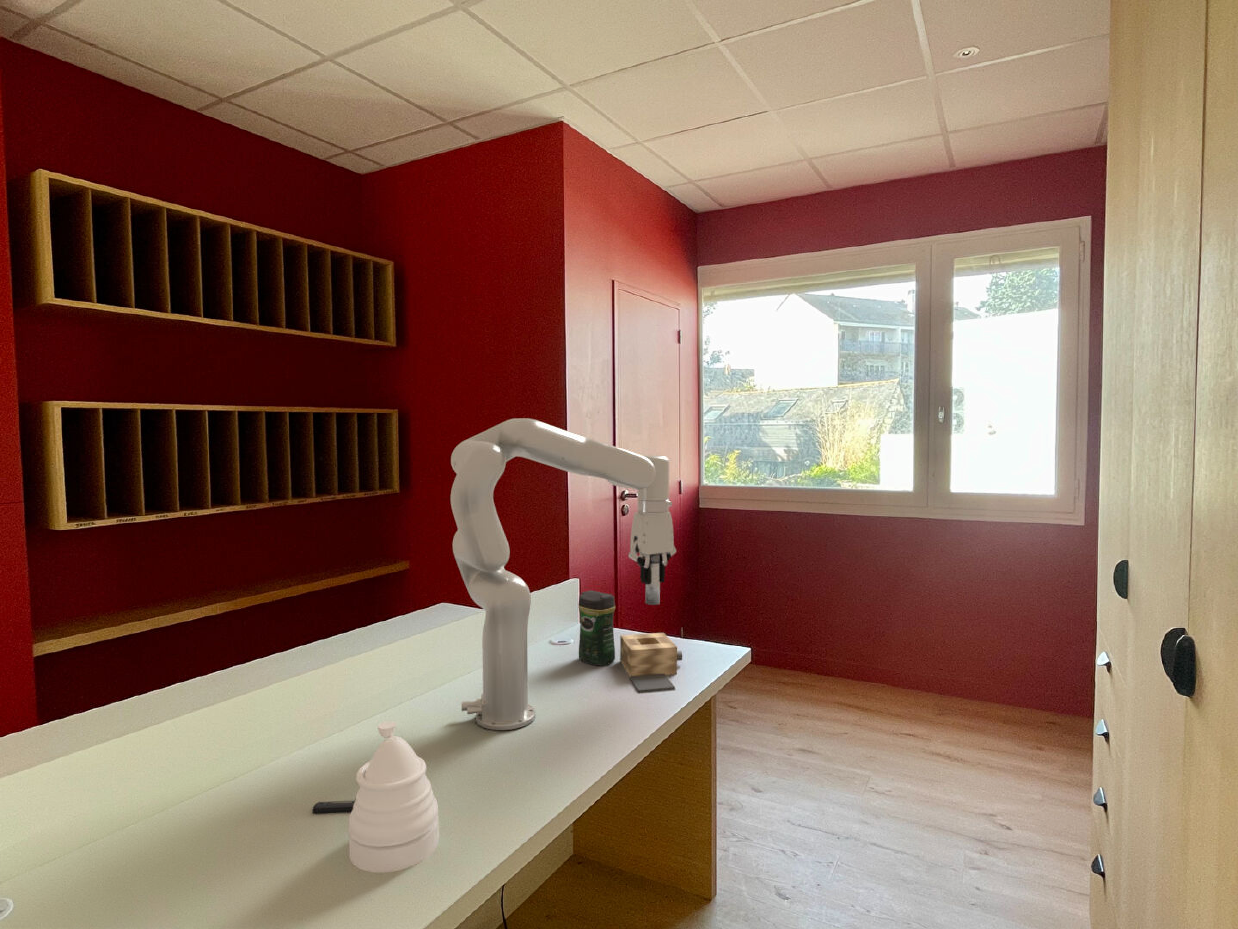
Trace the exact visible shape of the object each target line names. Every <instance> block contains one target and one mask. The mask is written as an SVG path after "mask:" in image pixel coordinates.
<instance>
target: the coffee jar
mask: <svg viewBox="0 0 1238 929" xmlns="http://www.w3.org/2000/svg"><path fill="white" fill-rule="evenodd" d="M615 610H616V603H615V596H614V595H613V594H609V593H605V592H600V591H595V590H591V589H590V590H587V591H583V592H581V593H580V595H579V596H578V611H579V617H580V618H579V619H580V623H579V625H580V627H579V628H580V629H579V642H578V659H579V660H580V661H582V662H584V663H587V664H591V665H594V666H600V665H608V664H609V665H610V664H612V662H614V661H615V660H616V650H615V648H616V647H615V638H614V636H615V635H614V613H615Z"/></svg>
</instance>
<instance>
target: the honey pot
mask: <svg viewBox="0 0 1238 929" xmlns="http://www.w3.org/2000/svg"><path fill="white" fill-rule="evenodd" d="M396 726H397V723H396V722H395V721H392V720H390V721H384V722H381V723H379V724H378V725H377V730H378V734H379V735H380V736H381V737H382V738H385V740H383V741H382V742H381V744H380V745H379V746H378V747H377V749H376V750H375V752H374V753H373V755H372V758H371V760H369V761H367V762H366V763H364V764H362V766H361V767H360V768H359V769H358V770H357V773H356V776H355V777H356V782H357V784H358V785H359V786H360V788H358V789H357V790H358V791H357V792H356V795H355V800H356V801H355V800H354V801H355V803H354V806H353V810H352V812H350V815H349V818H348V838H349V839H348V842H349V843H348V846H349V859H350V861H351V863H352V864H353V865H354V866H355V867H357V868H358V869H359V870H363V871H366V872H368V873H376V874H377V873H378V874H379V873H380V874H381V873H393V872H397V871H402V870H406V869H407V868H411V867H412V866H416V865H417V864H418V863H420V862H422V861H424V860H425V859H427V858H428V857H429V856H430V855H431V854H432V853H434V851H435V850H436V848H437V847H438V845H439V844H438V843H439V840H440V834H439V833H440V832H439V830H440V827H439V826H440V824H439V806H438V801H437V798H436V797H435V795H434V792H433V789H432V786H431V781H430V780H429V779H428V777H427V774H426V771H427V764H426V761H425V760H424V759H423V758H422V757H420V756H417V754H416V752H415V751H414V750H413V747H412V746H411V745H410V744H409V743H408V742H407V741H406V740H405V739H403V738H401V737H400V736H395V735H394V733H395V731H396V728H397V727H396Z"/></svg>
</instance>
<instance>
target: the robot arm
mask: <svg viewBox="0 0 1238 929" xmlns="http://www.w3.org/2000/svg"><path fill="white" fill-rule="evenodd" d="M515 457H520V458H524V459H528V460H531V461H534V462H537V463H540V464H544V465H546V466H550V467H553V468H556V469H559V470H562V471H565V472H568V473H572V474H576V475H580V476H586V477H594V478H600V479H604V480H606V481H607V482H609V483H610V484H611V485H612V486H615V487H619V488H626V489H632V490H637V512H634V514H633V517H632V523H631V530H630V546H629V548H630V551H629V552H628V558H629V559H631V560H633V561H634V562H635V563H636V564H637V565H638V566H639V567H640V569H639V570H640V582H641V583H642V584H644V585H646V584H647V585H649V584H650V583H651V569H650V568H648V567H649V559H650V555H654V554H660V583H665V578H666V567H667V565H668V561H669V560H670V559H671V557H673V556H674V555H675V554H676V553H677V548H676V547H675V544H674V543H675V542H674V524H673V518H672V514H671V512H670V511H669V509H670V507H672V505H673V503H672V501H671V500H670V460H669V459H668V457H666V456H664V455H654V454H653V455H652V454H651V455H650V454H649V455H640V454H637V453H635V452H632V451H629V450H627V449H624V448H621V447H618V446H615V445H610V444H607V443H604V442H601V441H598V440H595V439H592V438H590V437H586V436H582V435H579V434H576V433H574V432H571V431H568V430H565V429H562V428H560V427H556V426H554V425H551V424H548V423H545V422H543V421H540V420H538V419H533V418H525V417H523V418H511V419H510V418H509V419H507V420H505V421H502V422H501V423H499V424H496V425H494V426H493V427H490V428H488V429H486V430H485V431H482V432H480V433H478V434H476V435H473V436H471V437H469V438H468V439H465V440H463V441H461V442H460V443H459V444H458V445H456V447H454V449H453V451H452V453H451V456H450V464H451V467H452V470H453V471H454V473H456V476H455V478H454V481H453V482H452V483H453V484H452V487H451V490H450V492H451V493H450V505H451V510H452V514H453V517H454V521H455V524H456V527H457V531H456V532H455V534H454V536H453V540H452V553H453V556H454V559H455V561H456V564H457V567H458V569H459V572H460V574H461V575H460V576H461V578H462V580H463V582H464V585H465V587H466V589H467V592H468V594H469V596H470V598H471V599H472V601H473V602H474V603H475V604H476V605H477V606H479V608H482V609H483V611H485V618H484V624H483V627H482V628H483V629H482V636H481V637H482V638H481V639H482V642H481V643H482V644H481V645H482V647H481V648H482V694H480V698H477V699H476V700H473V701H472V700H471V701H470V700H467V701H461V712H465V711H466V714H467V715H474V714H475V721H476V724H477V725H479V726H480V727H481V728H485V729H487V730H492V731H508V730H510V731H511V730H516V729H520V728H522V727H525V726H527V725H529V724H530V723H532V722H533V720H535V717H536V710H535V708H534V707H533V706H532V705H530V704H529V703H528V700H529V699H528V694H529V692H528V691H529V690H528V689H529V688H528V683H529V680H528V678H529V677H528V670H529V669H528V663H529V662H528V627H529V626H528V625H529V615H530V610H531V604H532V602H531V601H532V596H531V591H530V588H529V586H528V584H527V583H526V582H525V581H524V580H523V579H522V578H521V577H520V576H518V575H516V574H514V573H513V572H511V571H508V570H506V569H505V566H506V565H507V563H508V562H509V559H510V552H511V551H510V545H509V541H508V540H507V537H506V534H505V532H504V529H503V526H502V523H501V521H500V518H499V516H498V512H497V508H496V505H495V502H494V490H495V487H496V485H497V483H498V481H499V480H500V479H501V477H502V475H503V474H504V472H505V468H506V464H507V462H509V461H510V460H512V459H514V458H515ZM638 554H639V555H638Z"/></svg>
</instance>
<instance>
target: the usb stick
mask: <svg viewBox="0 0 1238 929" xmlns="http://www.w3.org/2000/svg"><path fill="white" fill-rule="evenodd" d="M355 801H356V799H355V800H337V801H336V800H335V801H334V800H333V801H318V802H317V803H315V804H314V805H313V807H312V814H314V815H325V814H326V815H327V814H347V813H351V812H352V810H353V806H354V803H355Z"/></svg>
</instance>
